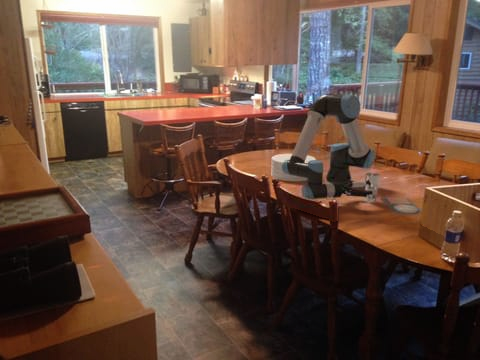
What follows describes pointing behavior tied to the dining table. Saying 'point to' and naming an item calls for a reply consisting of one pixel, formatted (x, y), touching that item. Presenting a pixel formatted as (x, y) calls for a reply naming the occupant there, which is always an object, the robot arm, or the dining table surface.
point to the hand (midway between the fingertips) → (370, 187)
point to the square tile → (397, 201)
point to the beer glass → (371, 186)
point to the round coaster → (405, 208)
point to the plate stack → (277, 168)
